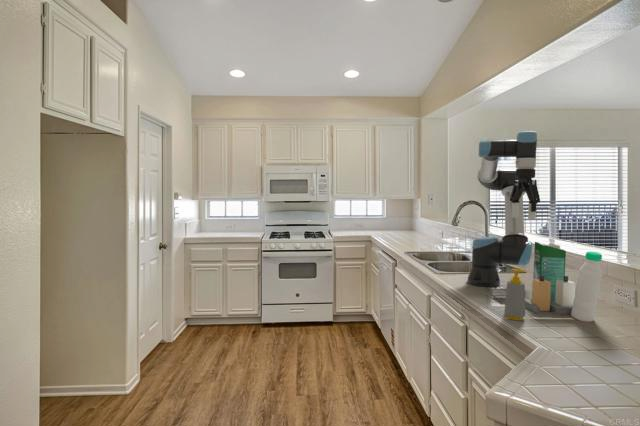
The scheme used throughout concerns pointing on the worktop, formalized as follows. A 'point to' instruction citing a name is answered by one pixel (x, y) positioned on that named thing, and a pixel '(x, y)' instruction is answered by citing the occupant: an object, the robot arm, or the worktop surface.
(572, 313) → the water bottle
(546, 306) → the plug
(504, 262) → the robot arm
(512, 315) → the soap bottle
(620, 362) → the worktop surface
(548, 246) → the milk carton
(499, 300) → the mat
